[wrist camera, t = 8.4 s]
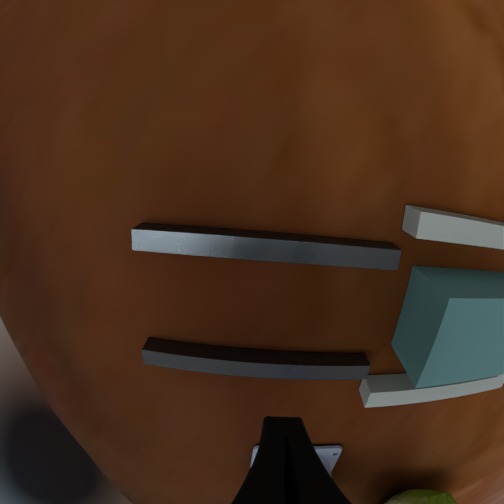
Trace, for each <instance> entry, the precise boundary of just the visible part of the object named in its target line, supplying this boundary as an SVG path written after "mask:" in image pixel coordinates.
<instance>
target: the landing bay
mask: <svg viewBox="0 0 504 504" xmlns="http://www.w3.org/2000/svg"><path fill="white" fill-rule="evenodd" d="M402 230H404V231H405V232H407V233H409V234H410V235H412V236H413V237H415V238H417V239H426V240H434V241H443V242H451V243H459V244H467V245H474V246H482V247H489V248H497V249H504V223H503V222H499V221H494V220H489V219H484V218H479V217H474V216H469V215H463V214H458V213H452V212H447V211H441V210H435V209H429V208H423V207H417V206H410V205H406V207H405V213H404V220H403V225H402ZM503 383H504V374H502V375H497V376H492V377H487V378H482V379H477V380H471V381H465V382H459V383H452V384H446V385H438V386H430V387H422V388H415V387H414V385H413V383H412V382H411V380H410V378H409V376H408V374H407V373H403V374H385V375H367V378H366V379H362V382H361V385H360V388H359V392H360V395H361V398H362V401H363V404H364V407H365V408H367V407H381V406H393V405H402V404H411V403H419V402H427V401H434V400H441V399H447V398H453V397H458V396H464V395H469V394H474V393H478V392H483V391H488V390H492V389H496V388H500V387H501V386H502V385H503Z"/></svg>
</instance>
